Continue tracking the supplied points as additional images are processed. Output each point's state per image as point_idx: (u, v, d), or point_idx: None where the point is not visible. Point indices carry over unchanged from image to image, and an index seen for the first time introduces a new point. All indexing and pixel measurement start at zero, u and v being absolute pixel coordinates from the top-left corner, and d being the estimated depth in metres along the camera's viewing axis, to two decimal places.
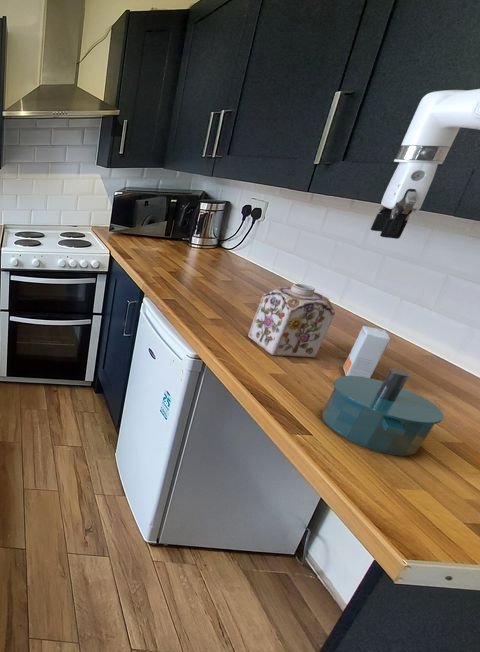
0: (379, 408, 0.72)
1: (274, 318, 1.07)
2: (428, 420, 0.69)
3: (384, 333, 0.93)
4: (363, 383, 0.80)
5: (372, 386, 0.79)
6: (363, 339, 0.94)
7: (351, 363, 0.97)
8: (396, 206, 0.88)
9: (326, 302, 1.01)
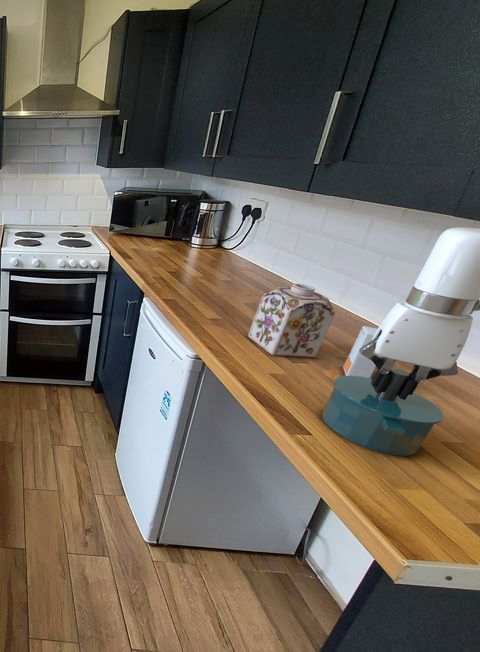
0: (379, 408, 0.72)
1: (274, 318, 1.07)
2: (428, 420, 0.69)
3: None
4: (363, 383, 0.80)
5: (372, 386, 0.79)
6: (363, 339, 0.94)
7: (351, 363, 0.97)
8: None
9: (326, 302, 1.01)
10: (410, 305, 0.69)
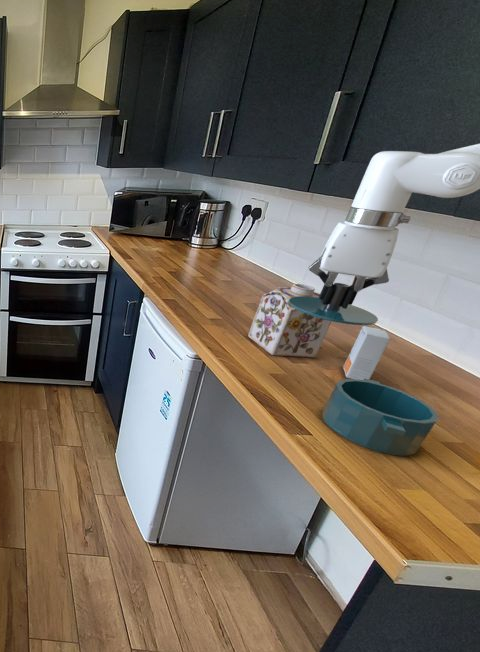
0: (323, 314, 0.83)
1: (274, 318, 1.07)
2: (363, 322, 0.81)
3: (384, 333, 0.93)
4: (314, 300, 0.91)
5: (321, 302, 0.90)
6: (363, 339, 0.94)
7: (351, 363, 0.97)
8: None
9: None
10: (348, 222, 0.80)
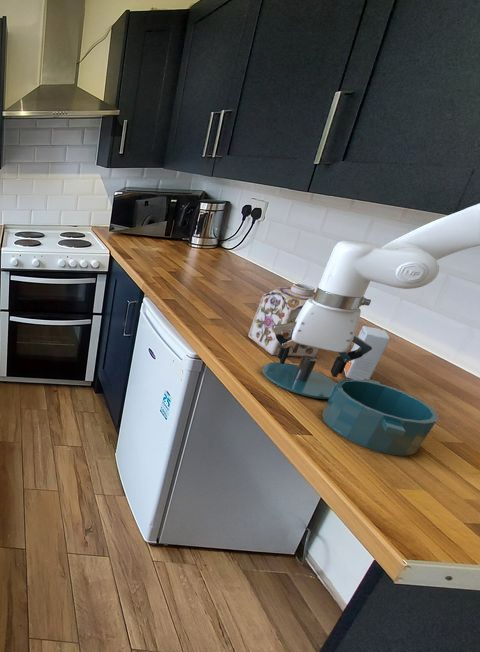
0: (292, 387, 0.91)
1: (274, 318, 1.07)
2: (327, 395, 0.88)
3: (384, 333, 0.93)
4: (286, 368, 0.99)
5: (292, 370, 0.98)
6: (363, 339, 0.94)
7: (351, 363, 0.97)
8: None
9: None
10: (315, 301, 0.87)
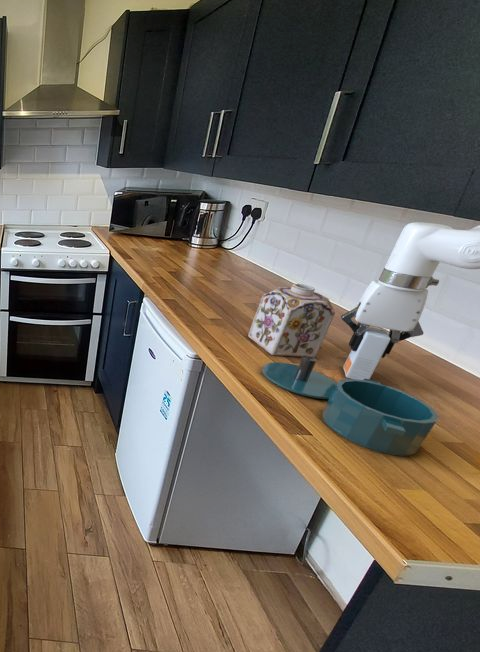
0: (292, 387, 0.91)
1: (274, 318, 1.07)
2: (327, 395, 0.88)
3: (384, 333, 0.93)
4: (286, 368, 0.99)
5: (292, 370, 0.98)
6: (363, 339, 0.94)
7: (351, 363, 0.97)
8: None
9: (326, 302, 1.01)
10: (381, 282, 0.90)
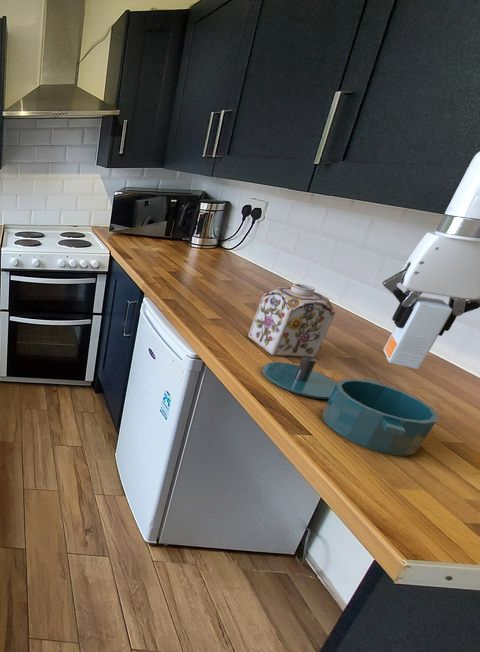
0: (292, 387, 0.91)
1: (274, 318, 1.07)
2: (327, 395, 0.88)
3: (442, 303, 0.70)
4: (286, 368, 0.99)
5: (292, 370, 0.98)
6: (414, 311, 0.71)
7: (396, 344, 0.74)
8: None
9: (326, 302, 1.01)
10: (441, 233, 0.67)
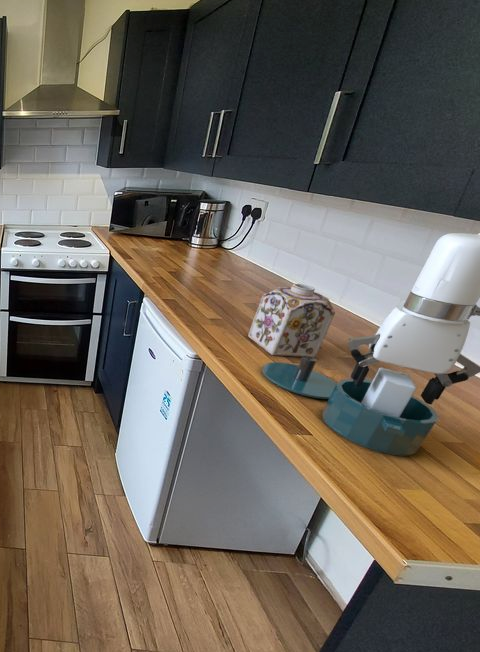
0: (292, 387, 0.91)
1: (274, 318, 1.07)
2: (327, 395, 0.88)
3: (407, 379, 0.73)
4: (286, 368, 0.99)
5: (292, 370, 0.98)
6: (381, 386, 0.74)
7: None
8: None
9: (326, 302, 1.01)
10: (408, 310, 0.69)
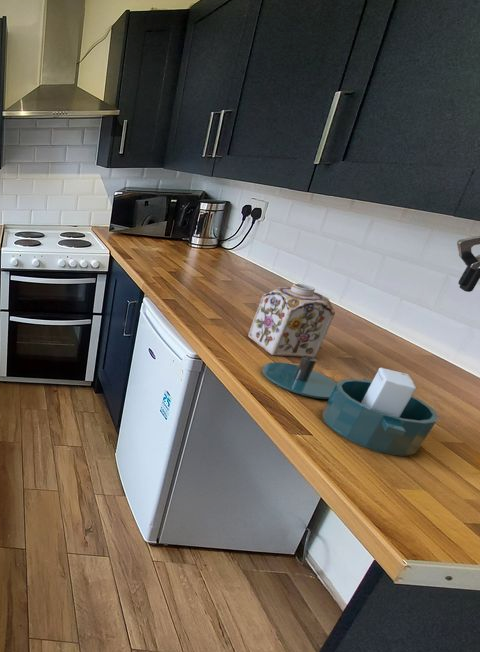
0: (292, 387, 0.91)
1: (274, 318, 1.07)
2: (327, 395, 0.88)
3: (407, 379, 0.73)
4: (286, 368, 0.99)
5: (292, 370, 0.98)
6: (381, 386, 0.74)
7: None
8: None
9: (326, 302, 1.01)
10: None
